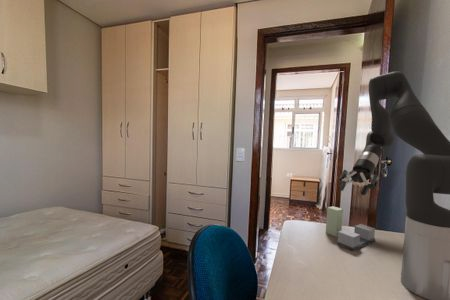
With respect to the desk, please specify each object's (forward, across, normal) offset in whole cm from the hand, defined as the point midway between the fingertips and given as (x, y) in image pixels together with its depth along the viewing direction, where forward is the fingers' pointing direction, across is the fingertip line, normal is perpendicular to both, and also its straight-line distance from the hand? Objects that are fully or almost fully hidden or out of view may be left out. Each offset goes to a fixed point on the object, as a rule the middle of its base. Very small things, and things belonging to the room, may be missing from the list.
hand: (351, 191), depth 91 cm
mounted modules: (+19, +8, +3) cm, 21 cm away
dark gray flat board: (+19, +8, +3) cm, 21 cm away
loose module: (+19, 0, +3) cm, 19 cm away
